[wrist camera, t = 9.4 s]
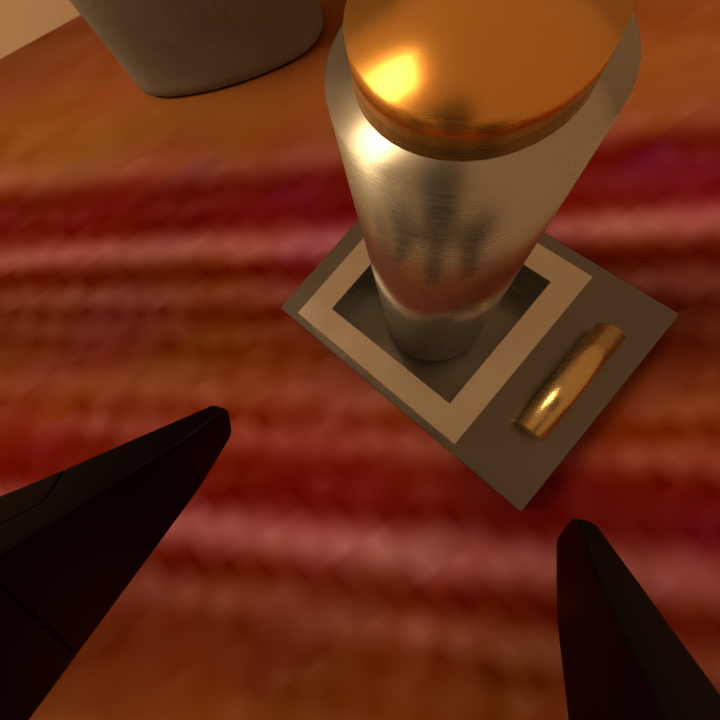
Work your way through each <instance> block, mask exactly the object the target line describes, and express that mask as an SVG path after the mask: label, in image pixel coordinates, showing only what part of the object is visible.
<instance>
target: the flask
mask: <svg viewBox="0 0 720 720" xmlns="http://www.w3.org/2000/svg"><path fill="white" fill-rule="evenodd" d="M70 2H71V3H72V4H73V5H74V7H75V8H76V9H77V10H78V12H79V13H80V14H81V15H82V17H83V18H84V19H85V20H86V22H87V23H88V24H89V25H90V26H91V28H92V29H93V30H94V31H95V33H96V34H97V35H98V36H99V38H100V39H101V40H102V41H103V43H104V44H105V45H106V46H107V48H108V49H109V50H110V51H111V53H112V54H113V55H114V56H115V58H116V59H117V60H118V61H119V63H120V64H121V65H122V66H123V68H124V69H125V70H126V71H127V73H128V74H129V75H130V76H131V78H132V79H133V80H134V81H135V83H136V84H137V85H138V86H139V87H140V88H141V89H142V90H143V91H144V92H145V93H147V94H150V95H153V96H161V97H175V96H184V95H190V94H196V93H201V92H206V91H210V90H215V89H218V88H222V87H226V86H229V85H233V84H236V83H239V82H242V81H245V80H248V79H251V78H253V77H256V76H259V75H261V74H264V73H266V72H268V71H271V70H273V69H275V68H278V67H280V66H282V65H284V64H286V63H288V62H290V61H292V60H294V59H296V58H297V57H299V56H300V55H302V54H303V53H305V52H306V51H307V50H308V49H309V48H310V47H312V46H313V45H314V44H315V43H316V41H317V39H318V37H319V36H320V34H321V32H322V30H323V20H324V19H323V14H322V10H321V5H320V1H319V0H70Z"/></svg>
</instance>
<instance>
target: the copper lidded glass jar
mask: <svg viewBox="0 0 720 720" xmlns="http://www.w3.org/2000/svg"><path fill="white" fill-rule="evenodd" d="M634 2H635V0H346V5H345V10H344V16H343V24H342V26H341V28H340V30H339V31H338V33H337V35H336V37H335V39H334V41H333V44H332V47H331V50H330V53H329V55H328V60H327V65H326V70H325V94H326V102H327V105H328V109H329V113H330V116H331V120H332V124H333V127H334V131H335V135H336V138H337V142H338V146H339V149H340V153H341V157H342V160H343V164H344V168H345V171H346V175H347V179H348V182H349V186H350V190H351V193H352V197H353V201H354V204H355V208H356V212H357V215H358V219H359V223H360V226H361V230H362V234H363V237H364V241H365V245H366V248H367V252H368V256H369V259H370V263H371V267H372V270H373V274H374V278H375V281H376V285H377V289H378V293H379V296H380V300H381V304H382V307H383V311H384V315H385V318H386V322H387V326H388V329H389V332H390V334H391V336H392V338H393V340H394V341H395V343H396V344H397V345H398V346H399V347H400V348H401V349H402V350H403V351H405V352H406V353H407V354H409V355H411V356H413V357H416V358H418V359H422V360H427V361H441V360H447V359H450V358H453V357H455V356H457V355H459V354H461V353H463V352H464V351H465V350H467V349H468V348H469V347H470V346H471V345H472V344H473V342H474V341H475V340H476V338H477V337H478V335H479V333H480V332H481V330H482V329H483V327H484V326H485V324H486V322H487V321H488V319H489V318H490V316H491V315H492V313H493V311H494V310H495V308H496V307H497V305H498V304H499V302H500V300H501V299H502V297H503V296H504V294H505V293H506V291H507V289H508V288H509V286H510V285H511V283H512V282H513V280H514V278H515V277H516V275H517V274H518V272H519V271H520V269H521V267H522V266H523V264H524V263H525V261H526V260H527V258H528V256H529V255H530V253H531V252H532V250H533V249H534V247H535V245H536V244H537V242H538V241H539V239H540V237H541V236H542V234H543V233H544V231H545V230H546V228H547V226H548V225H549V223H550V222H551V220H552V219H553V217H554V215H555V214H556V212H557V211H558V209H559V208H560V206H561V204H562V203H563V201H564V200H565V198H566V197H567V195H568V193H569V192H570V190H571V189H572V187H573V186H574V184H575V182H576V181H577V179H578V178H579V176H580V175H581V173H582V171H583V170H584V168H585V167H586V165H587V164H588V162H589V160H590V159H591V157H592V156H593V154H594V153H595V151H596V149H597V148H598V146H599V145H600V143H601V142H602V140H603V138H604V137H605V135H606V134H607V132H608V131H609V129H610V127H611V126H612V124H613V123H614V121H615V120H616V118H617V116H618V115H619V113H620V112H621V110H622V108H623V106H624V105H625V103H626V101H627V99H628V98H629V96H630V94H631V91H632V89H633V86H634V83H635V81H636V78H637V75H638V69H639V64H640V59H641V40H640V34H639V28H638V23H637V21H636V18H635V15H634V13H633V7H634Z"/></svg>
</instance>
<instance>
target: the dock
mask: <svg viewBox="0 0 720 720" xmlns="http://www.w3.org/2000/svg"><path fill="white" fill-rule="evenodd" d="M281 308H282V309H283V310H284V311H285V312H286V313H287V314H288V315H289V316H291V317H292V318H293V319H294V320H295V321H296V322H298V323H299V324H300V325H301V326H302V327H304V328H305V329H306V330H307V331H308V332H309V333H311V334H312V335H313V336H314V337H315V338H316V339H318V340H319V341H320V342H321V343H322V344H324V345H325V346H326V347H327V348H328V349H329V350H331V351H332V352H333V353H334V354H335V355H336V356H338V357H339V358H340V359H341V360H342V361H344V362H345V363H346V364H347V365H348V366H349V367H351V368H352V369H353V370H354V371H355V372H357V373H358V374H359V375H360V376H361V377H362V378H364V379H365V380H366V381H367V382H368V383H369V384H371V385H372V386H373V387H374V388H375V389H377V390H378V391H379V392H380V393H381V394H382V395H384V396H385V397H386V398H387V399H388V400H389V401H391V402H392V403H393V404H394V405H395V406H397V407H398V408H399V409H400V410H401V411H402V412H404V413H405V414H406V415H407V416H408V417H410V418H411V419H412V420H413V421H414V422H415V423H417V424H418V425H419V426H420V427H421V428H422V429H424V430H425V431H426V432H427V433H428V434H430V435H431V436H432V437H433V438H434V439H435V440H437V441H438V442H439V443H440V444H441V445H442V446H444V447H445V448H446V449H447V450H448V451H450V452H451V453H452V454H453V455H454V456H455V457H457V458H458V459H459V460H460V461H461V462H462V463H464V464H465V465H466V466H467V467H468V468H470V469H471V470H472V471H473V472H474V473H475V474H477V475H478V476H479V477H480V478H481V479H483V480H484V481H485V482H486V483H487V484H488V485H490V486H491V487H492V488H493V489H494V490H495V491H497V492H498V493H499V494H500V495H501V496H503V497H504V498H505V499H506V500H507V501H508V502H510V503H511V504H512V505H513V506H514V507H516V508H517V509H518V510H519V511H522V510H523V509H524V507H525V506H526V505H527V504H528V502H529V501H530V500H531V499H532V497H533V496H534V495H535V494H536V492H537V491H538V490H539V489H540V487H541V486H542V485H543V484H544V482H545V481H546V480H547V479H548V477H549V476H550V475H551V474H552V472H553V471H554V470H555V469H556V467H557V466H558V465H559V464H560V462H561V461H562V460H563V459H564V457H565V456H566V455H567V454H568V452H569V451H570V450H571V449H572V447H573V446H574V445H575V444H576V443H577V441H578V440H579V439H580V438H581V436H582V435H583V434H584V433H585V431H586V430H587V429H588V428H589V426H590V425H591V424H592V423H593V421H594V420H595V419H596V418H597V416H598V415H599V414H600V413H601V411H602V410H603V409H604V408H605V406H606V405H607V404H608V403H609V401H610V400H611V399H612V398H613V396H614V395H615V394H616V393H617V391H618V390H619V389H620V388H621V386H622V385H623V384H624V383H625V381H626V380H627V379H628V378H629V376H630V375H631V374H632V373H633V371H634V370H635V369H636V368H637V366H638V365H639V364H640V363H641V361H642V360H643V359H644V358H645V356H646V355H647V354H648V353H649V351H650V350H651V349H652V348H653V346H654V345H655V344H656V343H657V341H658V340H659V339H660V338H661V336H662V335H663V334H664V333H665V331H666V330H667V329H668V328H669V326H670V325H671V324H672V323H673V321H674V320H675V319H676V318H677V316H678V315H679V314H678V313H676V312H675V311H673V310H671V309H670V308H668V307H666V306H665V305H663V304H661V303H660V302H658V301H656V300H655V299H653V298H651V297H650V296H648V295H646V294H645V293H643V292H641V291H640V290H638V289H636V288H635V287H633V286H631V285H630V284H628V283H626V282H625V281H623V280H621V279H620V278H618V277H616V276H615V275H613V274H611V273H610V272H608V271H606V270H605V269H603V268H601V267H600V266H598V265H596V264H595V263H593V262H591V261H590V260H588V259H586V258H585V257H583V256H581V255H580V254H578V253H576V252H575V251H573V250H571V249H570V248H568V247H566V246H565V245H563V244H561V243H560V242H558V241H556V240H555V239H553V238H551V237H550V236H548V235H546V234H545V233H543V234H542V236H541V237H540V239H539V241H538V242H537V244H536V245H535V247H534V249H533V250H532V252H531V253H530V255H529V256H528V258H527V260H526V261H525V263H524V264H523V266H522V267H521V269H520V271H519V272H518V274H517V275H516V277H515V278H514V280H513V282H512V283H511V285H510V286H509V288H508V289H507V291H506V293H505V294H504V296H503V297H502V299H501V300H500V302H499V304H498V305H497V307H496V308H495V310H494V311H493V313H492V315H491V316H490V318H489V319H488V321H487V322H486V324H485V326H484V327H483V329H482V330H481V332H480V333H479V335H478V337H477V338H476V340H475V341H474V342H473V344H472V345H471V346H470V347H469V348H468V349H467V350H465V351H464V352H463V353H461V354H459V355H457V356H455V357H453V358H450V359H447V360H441V361H427V360H422V359H418V358H416V357H413V356H411V355H409V354H407V353H406V352H405V351H403V350H402V349H401V348H400V347H399V346H398V345H397V344H396V343H395V341H394V340H393V338H392V336H391V334H390V332H389V329H388V326H387V322H386V318H385V315H384V311H383V307H382V304H381V300H380V296H379V293H378V289H377V285H376V281H375V278H374V274H373V270H372V267H371V263H370V259H369V256H368V252H367V248H366V245H365V241H364V237H363V234H362V230H361V226H360V223H359V220H358V221H357V222H356V223H355V224H354V225H353V227H352V228H351V229H350V230H349V231H348V232H347V233H346V235H345V236H344V237H343V238H342V239H341V240H340V241H339V242H338V244H337V245H336V246H335V247H334V248H333V249H332V250H331V252H330V253H329V254H328V255H327V256H326V257H325V258H324V259H323V261H322V262H321V263H320V264H319V265H318V266H317V267H316V269H315V270H314V271H313V272H312V273H311V274H310V275H309V276H308V278H307V279H306V280H305V281H304V282H303V283H302V284H301V286H300V287H299V288H298V289H297V290H296V291H295V292H294V293H293V295H292V296H291V297H290V298H289V299H288V300H287V301H286V303H285V304H284V305H283V306H282V307H281Z"/></svg>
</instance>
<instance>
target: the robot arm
mask: <svg viewBox="0 0 720 720" xmlns="http://www.w3.org/2000/svg"><path fill="white" fill-rule="evenodd" d="M230 435H231V425H230V419H229V413H228V411H227V410H226V409H224V408H221V407H218V406H210V407H208V408H206V409H203V410H201V411H199V412H196V413H194V414H192V415H190V416H187V417H185V418H183V419H180V420H178V421H176V422H173V423H171V424H169V425H167V426H164V427H162V428H160V429H157V430H155V431H153V432H150V433H148V434H146V435H143V436H141V437H139V438H137V439H134V440H132V441H130V442H127V443H125V444H123V445H120V446H118V447H116V448H114V449H111V450H109V451H107V452H104V453H102V454H100V455H97V456H95V457H93V458H91V459H88V460H86V461H84V462H81V463H79V464H77V465H74V466H72V467H70V468H68V469H66V470H65V471H60V472H58V473H56V474H53V475H51V476H49V477H47V478H44V479H42V480H39V481H37V482H35V483H32V484H30V485H27V486H25V487H23V488H20V489H18V490H15V491H13V492H10V493H8V494H5V495H2V496H0V720H29V719H30V717H31V716H32V715H33V713H34V712H35V711H36V709H37V708H38V706H39V705H40V704H41V702H42V701H43V700H44V698H45V697H46V696H47V694H48V693H49V692H50V690H51V689H52V687H53V686H54V685H55V683H56V682H57V681H58V679H59V678H60V677H61V675H62V674H63V673H64V671H65V670H66V668H67V667H68V666H69V664H70V663H71V662H72V660H73V659H74V658H75V656H76V653H78V652H79V650H80V649H81V648H82V646H83V645H84V644H85V642H86V641H87V640H88V638H89V637H90V635H91V634H92V633H93V631H94V630H95V629H96V627H97V626H98V625H99V623H100V622H101V620H102V619H103V618H104V616H105V615H106V614H107V612H108V611H109V610H110V608H111V607H112V606H113V604H114V603H115V601H116V600H117V599H118V597H119V596H120V595H121V593H122V592H123V591H124V589H125V588H126V587H127V585H128V584H129V582H130V581H131V580H132V578H133V577H134V576H135V574H136V573H137V572H138V570H139V569H140V568H141V566H142V565H143V563H144V562H145V561H146V559H147V558H148V557H149V555H150V554H151V553H152V551H153V550H154V549H155V547H156V546H157V544H158V543H159V542H160V540H161V539H162V538H163V536H164V535H165V534H166V532H167V531H168V530H169V528H170V527H171V525H172V524H173V523H174V521H175V520H176V519H177V517H178V516H179V515H180V513H181V512H182V510H183V509H184V508H185V506H186V505H187V504H188V502H189V501H190V500H191V498H192V497H193V496H194V494H195V493H196V491H197V490H198V489H199V487H200V486H201V484H202V483H203V481H204V480H205V478H206V476H207V475H208V473H209V471H210V470H211V468H212V466H213V465H214V463H215V461H216V459H217V458H218V456H219V454H220V453H221V451H222V449H223V448H224V446H225V444H226V443H227V441H228V439H229V437H230ZM557 619H558V630H559V639H560V647H561V656H562V665H563V674H564V682H565V691H566V700H567V709H568V717H569V720H720V694H719V693H718V692H717V690H716V689H715V687H714V686H713V685H712V683H711V682H710V681H709V679H708V678H707V677H706V675H705V674H704V672H703V671H702V670H701V668H700V667H699V666H698V664H697V663H696V661H695V660H694V659H693V657H692V656H691V655H690V653H689V652H688V650H687V649H686V648H685V646H684V645H683V644H682V642H681V641H680V639H679V638H678V637H677V635H676V634H675V633H674V631H673V630H672V628H671V627H670V626H669V624H668V623H667V622H666V620H665V619H664V617H663V616H662V615H661V613H660V612H659V611H658V609H657V608H656V606H655V605H654V604H653V602H652V601H651V600H650V598H649V597H648V595H647V594H646V593H645V591H644V590H643V589H642V587H641V586H640V584H639V583H638V582H637V580H636V579H635V578H634V576H633V575H632V573H631V572H630V571H629V569H628V568H627V567H626V565H625V564H624V563H623V561H622V560H621V558H620V557H619V556H618V554H617V553H616V552H615V550H614V549H613V547H612V546H611V545H610V543H609V542H608V541H607V539H606V538H605V536H604V535H603V534H602V532H601V531H600V530H599V528H598V527H597V526H596V525H595V524H593V523H591V522H588V521H585V520H582V519H579V518H574V519H572V520H571V521H570V522H569V524H568V525H567V526H566V528H565V529H564V530H563V532H562V533H561V534H560V536H559V538H558V540H557Z"/></svg>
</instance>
